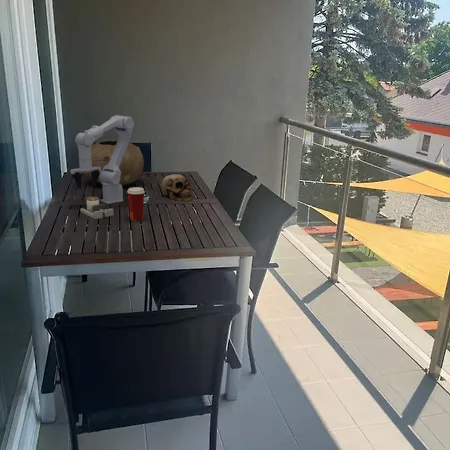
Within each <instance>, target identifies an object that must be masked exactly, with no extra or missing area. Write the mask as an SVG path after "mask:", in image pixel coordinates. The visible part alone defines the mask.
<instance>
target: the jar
mask: <svg viewBox="0 0 450 450" xmlns="http://www.w3.org/2000/svg"><path fill="white" fill-rule="evenodd" d="M98 204H100V199H99V196H87V197H86V210H87V211H89V212H91V213H93V212H92V205H98Z"/></svg>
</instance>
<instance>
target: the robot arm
mask: <svg viewBox="0 0 450 450" xmlns="http://www.w3.org/2000/svg"><path fill="white" fill-rule="evenodd" d="M134 127H135V122H134V119H133V117H132V116H125V115H124V116H123V115H117V114H116V115H113V116H111V117H110V118H109V120H107V121H105V122H104V123H102V124H101V125H100V126H98V125H92V127H91V128H90V129H88V130H87V129H86V130H84V132H79V133H77V135H76V136H75V139H74V141H75V144H76V146H77V148H78V149H77V150H78V159H79V160H78V163H79V166H78V167H77V168H73V169H70V174H71V176H72V177H73V178H74V180H75V182H76V186H77V188H78V189H79V190H81V189H82V176H83V175H82V174H85V172H91V175H92V177H91V183H92V186H93V187H95V188H96V187H97V183H98V182H97V179H98V177H99V180H100V181H101V182H102V184H101V185H102V199H99V202H102V203H103V204H104V203H105V204H106V205H110V204H114V203H115V204H116V203H120V202H121V203H122V202H124V201H125V200H124V197H123V196H124V194H123V193H124V191H123V186H121V184H120V183H119V181H120V175H121V171H120V169H119V166H120V164H121V161H122V159H123V156H124V154H125V151H126V149H127V146H128V144H129V143H130V141H131V138H132V131H133V129H134ZM113 128H114V129H115V131H116V133H117V134H118V138H117V140H118V141H117V144H116V146H115V149H114V151H113V154H112V156H111V159H110V161H109V164H108V165H106V166H104V167H103V170H102V171H101V167H99V166H98V167H92V154H91V146H92V145H94V142H95V141H97V140H99V139H101V138H102V137H104V133H106V132H109V131H110V130H112V129H113ZM99 171H101V172H99Z"/></svg>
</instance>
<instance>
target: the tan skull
mask: <svg viewBox="0 0 450 450" xmlns="http://www.w3.org/2000/svg"><path fill="white" fill-rule="evenodd" d="M161 190H162V193H163V194H164V195H165V196H166V197H168V198H169V199H170V200H171V201H172V200H173V201H178V202H179V201H180V202H191V201H193V200H194V198H193V196H192V193H191V192H192V190H193V188H192V187H191V184H190V182H189V180H188V179H187V178H186V177H185V176H183V175H182V174H169V175H167V176H165V177H164V178H163V179H162V182H161Z"/></svg>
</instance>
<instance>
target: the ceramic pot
mask: <svg viewBox="0 0 450 450" xmlns="http://www.w3.org/2000/svg"><path fill="white" fill-rule="evenodd" d="M117 141H118V139H112V140H111V139H105V140H103V139H102V140H99V141H97V142H95V143H93V144H92V146H91V154H92V167H98V166H99V167H101V171H102V170H103V167H104V166H106V165H108V164H109V161H110V159H111V156H112V154H113V151H114V149H115V146H116V144H117ZM144 163H145V160H144V155H143V154H142V151H141V148H140V147H139V146H136V145H135V144H133V143H131V142H129V144H128V146H127V149H126V151H125V154H124V156H123V159H122V161H121V164H120V166H119V169H120V171H121V175H120V181H119V183H120V184H121V186H122V187H124V186H128V185H130V184H132V183H134V182H136V181H137V180H138V179H140V177H141V175H142V173H143V172H144ZM101 171H99V172H101ZM84 175H85V176H86V177H87V176H89V177H91V178H92V175H91V172H85V173H84ZM97 183H99V184H101V185H103V184H102V182H101V181H100V180H99V177H98V179H97Z"/></svg>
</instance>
